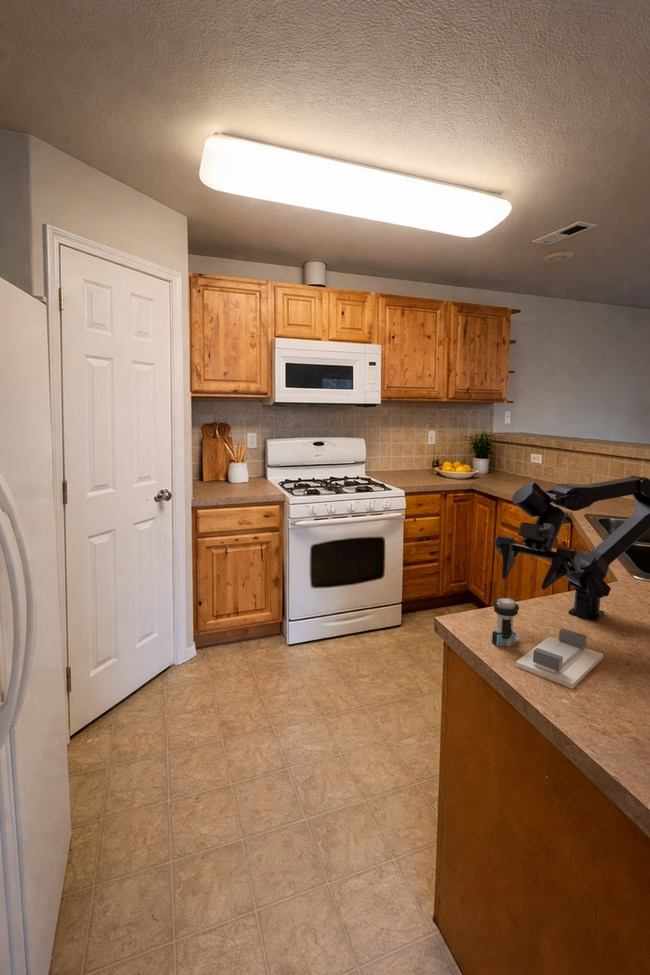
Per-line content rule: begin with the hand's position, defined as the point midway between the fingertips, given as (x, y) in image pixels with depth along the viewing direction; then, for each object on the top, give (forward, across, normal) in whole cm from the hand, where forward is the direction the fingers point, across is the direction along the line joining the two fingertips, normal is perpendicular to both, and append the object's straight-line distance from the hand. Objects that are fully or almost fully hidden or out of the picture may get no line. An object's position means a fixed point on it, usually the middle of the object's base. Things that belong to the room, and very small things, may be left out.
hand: (522, 583), depth 109 cm
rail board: (+13, +12, +4) cm, 18 cm away
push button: (+13, 0, +4) cm, 14 cm away
